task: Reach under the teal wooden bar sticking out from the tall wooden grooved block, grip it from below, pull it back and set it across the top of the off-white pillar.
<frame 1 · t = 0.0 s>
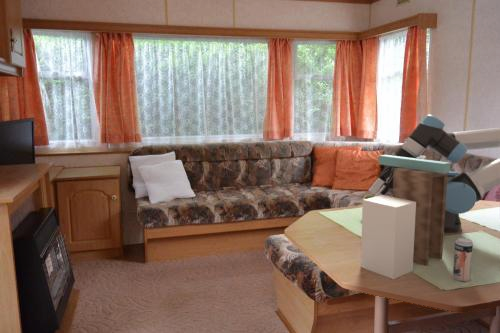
hand: (373, 196, 167), 15 cm above the table, tool tilted 35°, fingers open, 13 cm apart
beer can: (461, 279, 129), on the table
tall wooden grooved block: (415, 256, 147), on the table
plant pot: (373, 217, 194), on the table
decorative vase: (414, 208, 207), on the table
pillar: (386, 268, 137), on the table
bar: (412, 167, 144), point 30 cm above the table, touching tall wooden grooved block
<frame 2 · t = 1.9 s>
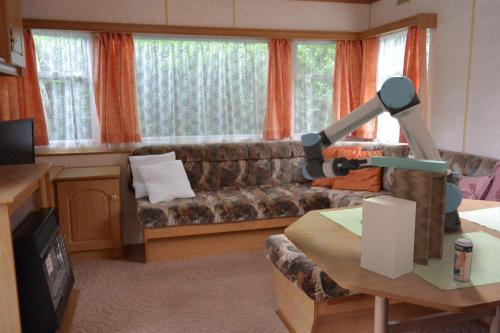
hand: (385, 160, 158), 30 cm above the table, tool horizontal, fingers open, 13 cm apart
bar: (407, 168, 144), point 30 cm above the table, touching tall wooden grooved block
everything else where it was.
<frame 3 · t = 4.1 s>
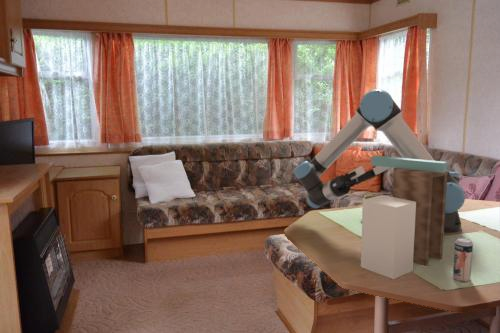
hand: (375, 166, 155), 29 cm above the table, tool pointing upward, fingers open, 13 cm apart
nothing on the table moved.
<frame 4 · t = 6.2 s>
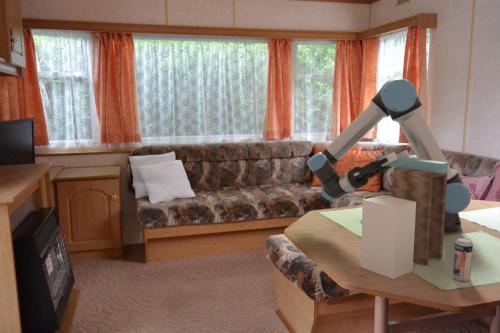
hand: (401, 154, 147), 34 cm above the table, tool pointing upward, fingers open, 6 cm apart
bar: (409, 167, 144), point 30 cm above the table, touching gripper
everything else where it was.
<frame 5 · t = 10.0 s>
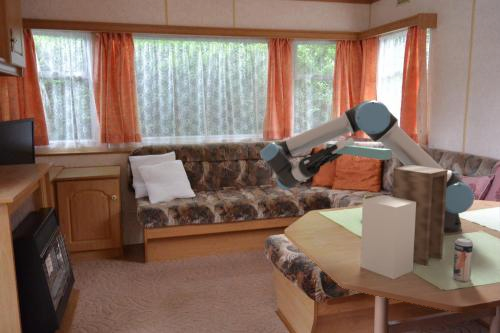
hand: (348, 141, 145), 39 cm above the table, tool pointing upward, fingers closed on bar, 3 cm apart
bar: (356, 155, 143), point 35 cm above the table, touching gripper
everything else where it was.
when the fingers open (29 cm above the table, at t = 13.5 s): bar drops 2 cm, resting on pillar.
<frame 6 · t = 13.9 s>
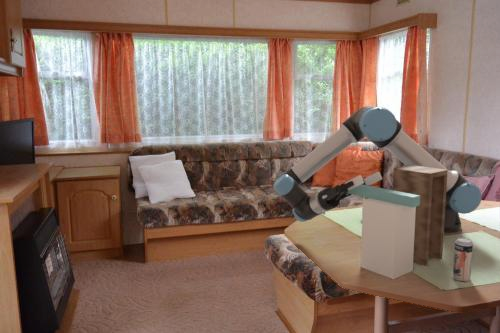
hand: (371, 177, 138), 28 cm above the table, tool pointing upward, fingers open, 8 cm apart
bar: (381, 199, 136), point 22 cm above the table, touching pillar
everything else where it was.
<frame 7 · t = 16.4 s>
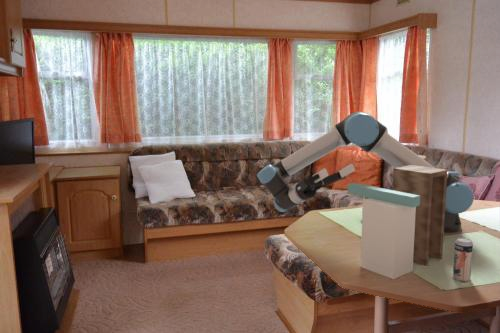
hand: (340, 169, 149), 29 cm above the table, tool pointing upward, fingers open, 13 cm apart
nothing on the table moved.
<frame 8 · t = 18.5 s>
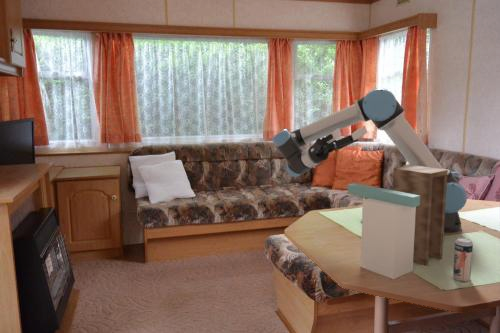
hand: (353, 130, 154), 42 cm above the table, tool pointing upward, fingers open, 13 cm apart
nothing on the table moved.
at the end: bar inside the target area on the pillar (1.2 cm from its centre), point 22.0 cm above the pillar's base; bar tilted 0°; the gripper is holding nothing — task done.
